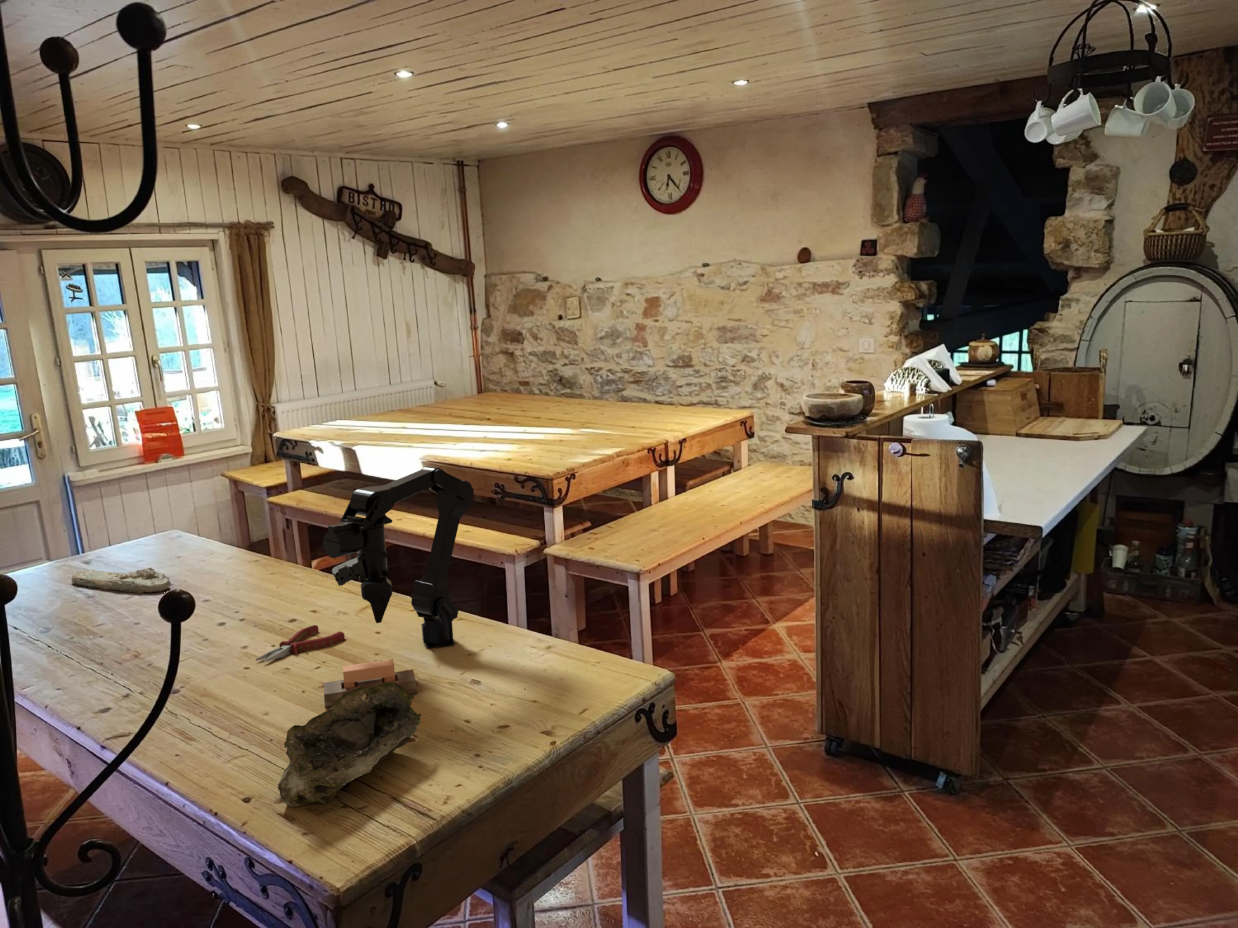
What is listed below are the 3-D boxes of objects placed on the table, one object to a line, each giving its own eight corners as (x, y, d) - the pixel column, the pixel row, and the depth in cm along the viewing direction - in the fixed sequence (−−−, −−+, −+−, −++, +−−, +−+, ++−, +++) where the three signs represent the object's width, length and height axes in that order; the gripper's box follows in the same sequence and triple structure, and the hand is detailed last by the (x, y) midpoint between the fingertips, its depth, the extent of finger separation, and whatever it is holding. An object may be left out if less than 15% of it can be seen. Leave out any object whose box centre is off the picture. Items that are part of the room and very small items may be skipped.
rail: (413, 682, 190) (413, 669, 190) (416, 694, 185) (416, 680, 184) (324, 696, 185) (323, 682, 184) (325, 708, 179) (323, 694, 179)
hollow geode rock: (411, 763, 167) (369, 695, 171) (446, 730, 160) (402, 661, 164) (282, 835, 144) (237, 755, 147) (317, 800, 137) (269, 717, 141)
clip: (394, 686, 188) (392, 658, 187) (396, 691, 185) (393, 664, 184) (344, 693, 185) (342, 666, 184) (345, 699, 182) (343, 671, 181)
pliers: (244, 660, 206) (243, 650, 205) (315, 632, 222) (314, 622, 222) (276, 670, 200) (275, 659, 199) (347, 640, 216) (346, 630, 216)
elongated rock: (92, 580, 272) (63, 592, 263) (88, 564, 271) (59, 575, 262) (182, 584, 260) (154, 596, 251) (178, 567, 259) (151, 579, 250)
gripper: (332, 540, 200) (337, 606, 203) (333, 562, 183) (339, 635, 185) (383, 534, 203) (388, 600, 206) (389, 556, 186) (395, 628, 189)
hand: (377, 615), depth 197 cm, fingers open, 9 cm apart
